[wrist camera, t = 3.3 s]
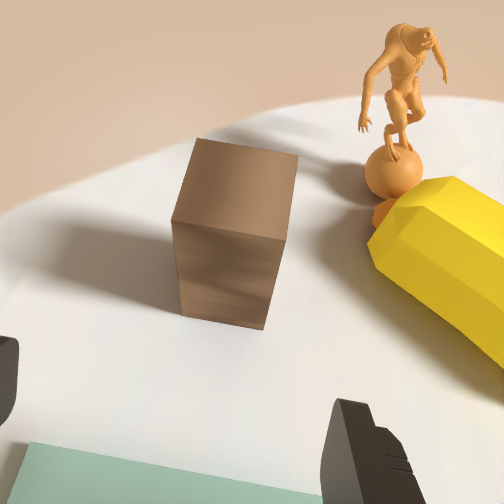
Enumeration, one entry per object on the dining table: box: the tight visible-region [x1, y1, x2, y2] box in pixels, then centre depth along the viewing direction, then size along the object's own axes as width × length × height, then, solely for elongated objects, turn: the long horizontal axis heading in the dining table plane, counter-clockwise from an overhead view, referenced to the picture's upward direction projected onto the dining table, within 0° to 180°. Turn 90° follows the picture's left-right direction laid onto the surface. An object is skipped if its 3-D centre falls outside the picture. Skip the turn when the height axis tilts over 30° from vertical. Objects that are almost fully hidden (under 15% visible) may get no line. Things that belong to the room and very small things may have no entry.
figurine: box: [358, 24, 447, 199], centre depth 31 cm, size 8×6×12 cm
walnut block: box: [171, 138, 298, 330], centre depth 26 cm, size 5×5×10 cm
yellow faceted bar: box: [367, 176, 504, 369], centre depth 28 cm, size 18×7×8 cm
